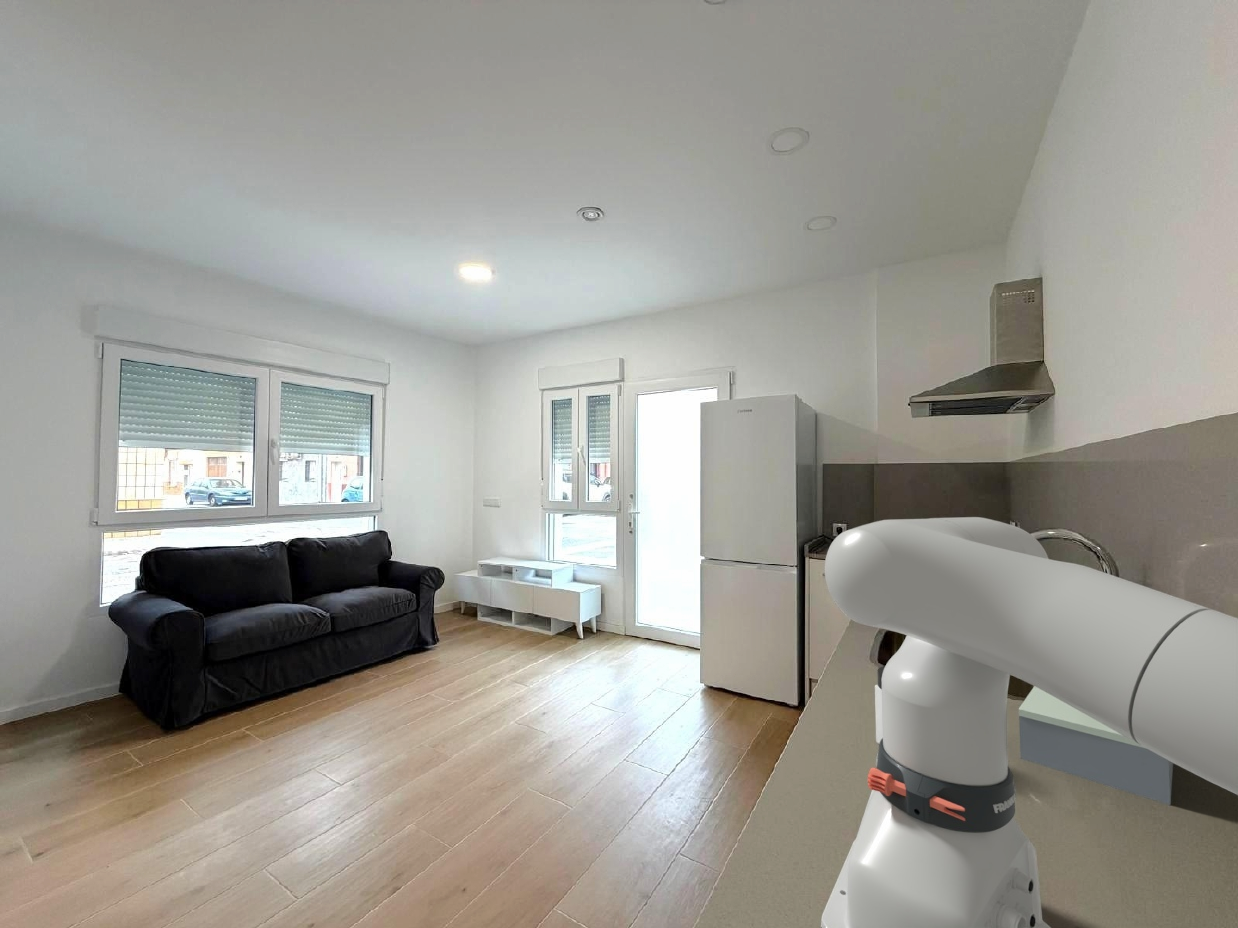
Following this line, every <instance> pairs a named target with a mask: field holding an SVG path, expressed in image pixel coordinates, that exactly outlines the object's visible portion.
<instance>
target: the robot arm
mask: <svg viewBox="0 0 1238 928" xmlns="http://www.w3.org/2000/svg"><path fill="white" fill-rule="evenodd" d="M824 578H825V579H824V580H825V583H826V588H827V591H828V592H829V595H830V597H831V599H832V600H833V602H834V603H835V605H836V606H837V608H838V609H839V610H840V611H841V612H842V613H843V615H845V616H846V617H847V618H848V619H850V620H851V621H853V622H855V623H858V624H860V625H863V626H864V625H865V626H868V627H873V628H879V629H883V630H887V631H891V632H895V633H899V634H902V635H905V637H904V638H905V639H904V640H903V642H902V644H901V646H900V647H899V649H898V650H897V651H896V652H895V653H894V654H893V655H892V656H891V658H890V659H889V660H888V661H887V662H886V665H884V666H885V668H884V670H883V674H882V679H881V681H882V725H883V738H882V739H881V741H880V743H879V744H878V749H877V750H878V752H877V754H876V758H875V767H871V768H870V770H869V771H868V776H867V786H868V788H869V789H870V790H871V792H870V795H869V798H868V801H867V803H866V806H865V810H864V814H863V816H862V819H861V822H860V826H859V828H858V831H857V834H856V838H855V839H854V840H853V842H852V844H851V847H850V849H849V852H848V854H847V856H846V858H845V861H844V863H843V865H842V868H841V870H840V873H839V875H838V877H837V880H836V881H835V884H834V886H833V888H832V892H831V893H830V896H829V898H828V901H827V903H826V905H825V908H824V910H823V912H822V914H821V920H820V928H821V927H822V928H1052V927H1051V926H1050V925H1048V924H1047V922H1045V921H1044V920H1043V912H1042V902H1041V891H1040V890H1041V888H1040V878H1039V870H1038V869H1039V868H1038V859H1037V857H1038V856H1037V850H1036V846H1035V845H1034V844H1033V843H1032V841H1031V840H1030V839H1029V838H1028V837H1027V836H1026V833H1024V832H1023V829H1021V828H1020V826H1019V824H1018V822H1017V821H1016V819H1015V814H1016V800H1017V799H1016V798H1017V795H1016V794H1017V792H1016V791H1017V789H1016V785H1015V783H1014V775H1013V771H1012V769H1010V767H1009V764H1008V763H1009V762H1008V718H1007V715H1008V714H1007V712H1008V711H1007V706H1008V705H1007V701H1008V691H1009V685H1010V677H1011V676H1013V677H1014V678H1017V679H1020V680H1021V681H1023V682H1025V683H1027V684H1029V685H1032V686H1033V687H1034V686H1035V687H1037V688H1039V689H1041V690H1043V691H1045V692H1046V693H1048V694H1050V695H1052V696H1054V697H1055V698H1057V699H1059V700H1061V701H1063V702H1064V703H1066V704H1068V705H1070V706H1072V707H1073V708H1075V709H1077V710H1079V711H1081V712H1082V713H1084V714H1086V715H1088V716H1090V717H1091V718H1093V719H1095V720H1097V721H1098V722H1100V723H1102V724H1104V725H1106V726H1107V727H1109V728H1111V729H1113V730H1115V731H1116V732H1118V733H1120V734H1122V735H1123V736H1125V737H1127V738H1129V739H1131V740H1132V741H1134V742H1136V743H1138V744H1139V745H1141V746H1143V747H1145V748H1147V749H1149V750H1150V751H1152V752H1154V753H1156V754H1158V755H1159V756H1161V757H1163V758H1165V759H1167V760H1169V761H1170V762H1172V763H1173V765H1176V766H1178V767H1180V768H1182V769H1184V770H1185V771H1188V772H1190V773H1192V774H1193V775H1196V776H1198V777H1200V778H1202V779H1203V780H1206V781H1207V782H1210V783H1212V784H1214V785H1216V786H1218V787H1220V788H1222V789H1225V790H1226V791H1229V792H1231V793H1233V794H1235V795H1236V796H1238V617H1235V616H1232V615H1230V614H1226V613H1224V612H1221V611H1218V610H1216V609H1212V608H1209V607H1206V606H1203V605H1201V604H1198V603H1195V602H1191V601H1188V600H1186V599H1183V598H1181V597H1177V596H1174V595H1171V594H1168V593H1166V592H1163V591H1160V590H1156V589H1153V588H1151V587H1148V586H1146V585H1142V584H1140V583H1136V582H1134V581H1130V580H1127V579H1124V578H1122V577H1119V576H1116V575H1113V574H1110V573H1107V572H1104V571H1100V570H1098V569H1095V568H1093V567H1089V566H1086V565H1082V564H1078V563H1073V562H1066V561H1059V560H1054V559H1050V558H1049V556H1048V554H1047V552H1046V550H1045V548H1044V547H1043V545H1042V544H1041V543H1040V541H1039V540H1038V539H1037V538H1036V537H1035V536H1033V535H1032V534H1031V533H1029V532H1028V531H1026V530H1024V529H1023V528H1021V527H1019V526H1015V525H1012V524H1009V523H1005V522H1003V521H999V520H994V519H990V518H986V517H979V516H966V517H959V516H958V517H930V518H903V519H901V518H900V519H883V520H876V521H873V522H870V523H866V524H862V525H859V526H856V527H853V528H850V529H848V530H847V529H846V530H845V531H842V532H841V533H840V534H838V535H837V536H836V537H835V538H834V539H833V541H832V542H831V543H830V545H829V548H828V549H827V552H826V555H825V560H824Z"/></svg>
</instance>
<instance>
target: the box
mask: <svg viewBox="0 0 1238 928" xmlns="http://www.w3.org/2000/svg"><path fill="white" fill-rule="evenodd" d="M1018 720H1019V721H1018V724H1019V726H1018V727H1019V747H1020V748H1019V749H1020V751H1019V752H1020V755H1019V756H1020V759H1021V760H1024V761H1027V762H1030V763H1034V764H1037V765H1040V766H1044V767H1047V768H1050V769H1053V770H1056V771H1060V772H1062V773H1066V774H1069V775H1072V776H1076V777H1078V778H1081V779H1086V780H1088V781H1091V782H1095V783H1098V784H1101V785H1104V786H1107V787H1110V788H1114V789H1118V790H1120V791H1124V792H1127V793H1131V794H1133V795H1136V796H1139V797H1143V798H1146V799H1149V800H1152V799H1153V800H1152V801H1155V800H1157V801H1156V802H1158V801H1159V802H1158V803H1162V804H1165V805H1168V806H1171V805H1172V803H1171V802H1172V787H1173V773H1174V772H1173V771H1174V763H1172V762H1170V761H1169V760H1167V759H1165V758H1163V757H1161V756H1159V755H1158V754H1156V753H1154V752H1152V751H1150V750H1149V749H1146V748H1142V747H1138V746H1134V745H1131V744H1127V743H1123V742H1119V741H1115V740H1111V739H1107V738H1104V737H1100V736H1096V735H1092V734H1088V733H1084V732H1080V731H1077V730H1073V729H1069V728H1065V727H1061V726H1057V725H1053V724H1050V723H1046V722H1042V721H1038V720H1034V719H1030V718H1026V717H1023V716H1019V715H1018Z"/></svg>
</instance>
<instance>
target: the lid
mask: <svg viewBox="0 0 1238 928" xmlns="http://www.w3.org/2000/svg"><path fill="white" fill-rule="evenodd" d="M1019 716H1023V717H1026V718H1030V719H1034V720H1038V721H1042V722H1046V723H1050V724H1053V725H1057V726H1061V727H1065V728H1069V729H1073V730H1077V731H1080V732H1084V733H1088V734H1092V735H1096V736H1100V737H1104V738H1107V739H1111V740H1115V741H1119V742H1123V743H1127V744H1131V745H1134V746H1138V747H1142V748H1145V747H1143V746H1141V745H1139V744H1138V743H1136V742H1134V741H1132V740H1131V739H1129V738H1127V737H1125V736H1123V735H1122V734H1120V733H1118V732H1116V731H1115V730H1113V729H1111V728H1109V727H1107V726H1106V725H1104V724H1102V723H1100V722H1098V721H1097V720H1095V719H1093V718H1091V717H1090V716H1088V715H1086V714H1084V713H1082V712H1081V711H1079V710H1077V709H1075V708H1073V707H1072V706H1070V705H1068V704H1066V703H1064V702H1063V701H1061V700H1059V699H1057V698H1055V697H1054V696H1052V695H1050V694H1048V693H1046V692H1045V691H1043V690H1041V689H1039V688H1037V687H1035V686H1033V688H1032V689H1031V690H1030V692H1029V693H1028V694H1027V696H1026V697H1025V699H1024V700H1023V702H1022V703H1021V705H1020V706H1019V707H1018V717H1019ZM1146 749H1147V748H1146Z"/></svg>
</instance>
